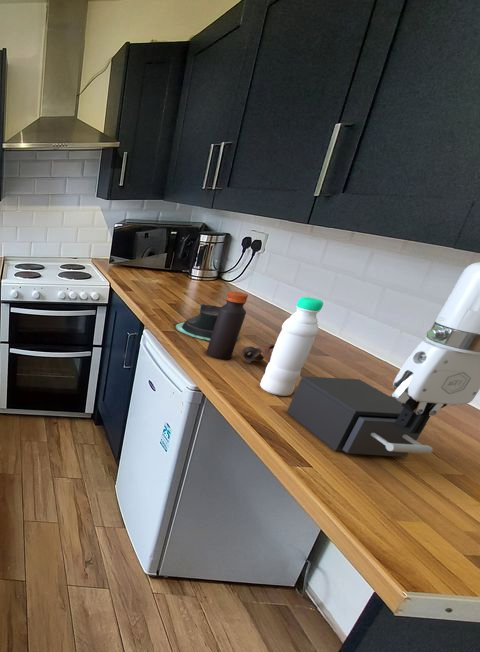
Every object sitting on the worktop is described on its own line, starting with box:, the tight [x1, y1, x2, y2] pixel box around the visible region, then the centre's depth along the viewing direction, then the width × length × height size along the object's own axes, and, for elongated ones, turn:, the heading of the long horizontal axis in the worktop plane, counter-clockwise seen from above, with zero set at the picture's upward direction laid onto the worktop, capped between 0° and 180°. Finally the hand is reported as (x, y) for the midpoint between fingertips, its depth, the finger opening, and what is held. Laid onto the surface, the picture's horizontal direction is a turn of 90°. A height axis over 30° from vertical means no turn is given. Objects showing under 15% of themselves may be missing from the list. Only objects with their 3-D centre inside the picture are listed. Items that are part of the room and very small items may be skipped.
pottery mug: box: [241, 343, 276, 365], centre depth 117 cm, size 12×10×8 cm
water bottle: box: [259, 296, 324, 397], centre depth 100 cm, size 7×7×25 cm
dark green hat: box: [175, 303, 240, 341], centre depth 143 cm, size 15×19×20 cm
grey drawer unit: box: [286, 375, 404, 453], centre depth 87 cm, size 15×13×10 cm
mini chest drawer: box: [342, 415, 434, 458], centre depth 82 cm, size 18×12×8 cm, turn 177°
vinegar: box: [206, 291, 249, 361], centre depth 121 cm, size 7×7×20 cm
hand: (406, 429), depth 74 cm, fingers closed
